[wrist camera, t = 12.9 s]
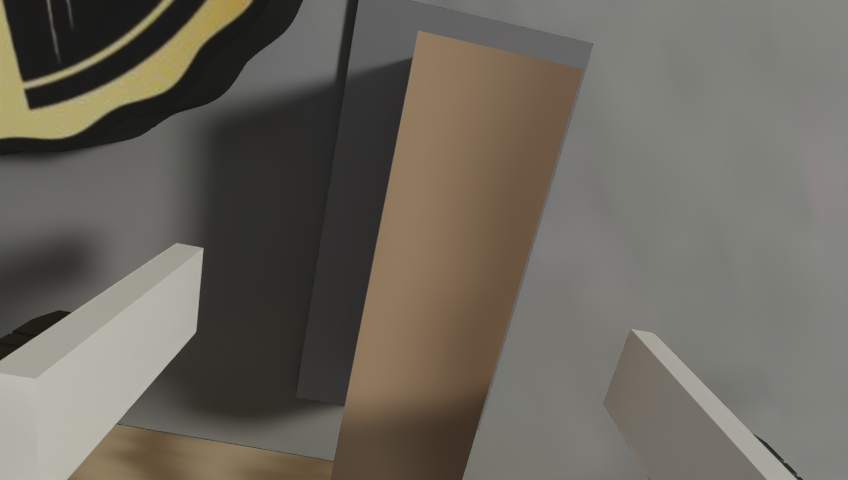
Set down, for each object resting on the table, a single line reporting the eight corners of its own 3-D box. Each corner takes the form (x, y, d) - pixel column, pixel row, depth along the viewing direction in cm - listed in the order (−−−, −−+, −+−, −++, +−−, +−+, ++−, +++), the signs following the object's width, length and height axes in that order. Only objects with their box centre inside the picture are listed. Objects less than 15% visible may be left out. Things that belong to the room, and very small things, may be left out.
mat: (298, 390, 27) (295, 397, 26) (362, -10, 21) (360, -12, 20) (477, 422, 27) (478, 430, 27) (588, 44, 21) (593, 43, 21)
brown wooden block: (356, 375, 26) (317, 547, 16) (420, 55, 21) (418, 30, 11) (431, 389, 26) (436, 566, 16) (511, 76, 21) (583, 68, 12)
